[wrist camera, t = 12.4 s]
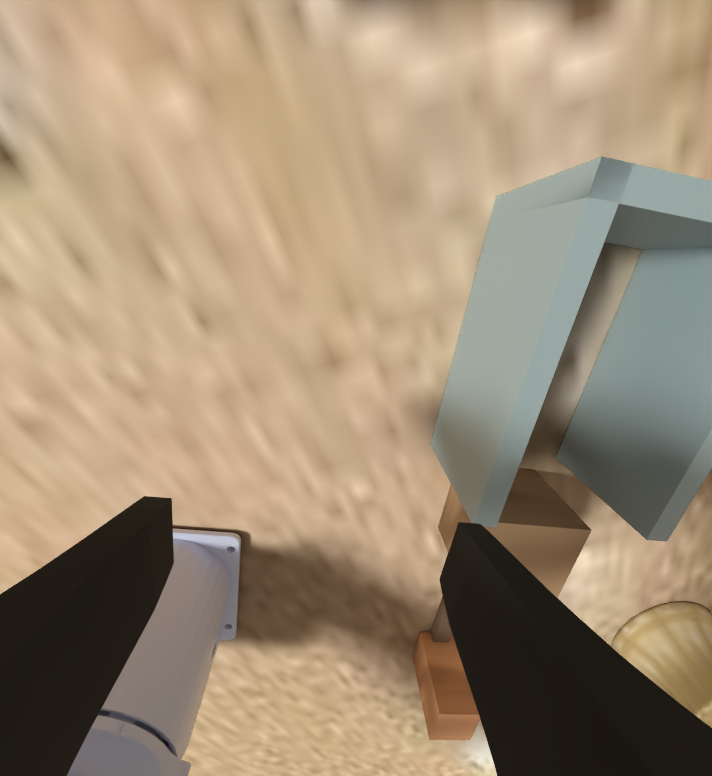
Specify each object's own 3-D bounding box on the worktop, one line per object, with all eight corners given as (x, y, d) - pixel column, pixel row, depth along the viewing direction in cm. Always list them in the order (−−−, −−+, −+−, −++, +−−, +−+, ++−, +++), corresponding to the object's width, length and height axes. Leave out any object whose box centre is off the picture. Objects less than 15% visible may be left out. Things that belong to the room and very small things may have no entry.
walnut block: (459, 657, 27) (485, 739, 23) (399, 655, 27) (413, 739, 22) (534, 470, 21) (591, 530, 16) (457, 462, 21) (494, 522, 16)
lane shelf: (570, 459, 21) (667, 541, 15) (430, 444, 20) (472, 525, 14) (670, 231, 16) (866, 215, 10) (496, 196, 15) (601, 156, 9)
